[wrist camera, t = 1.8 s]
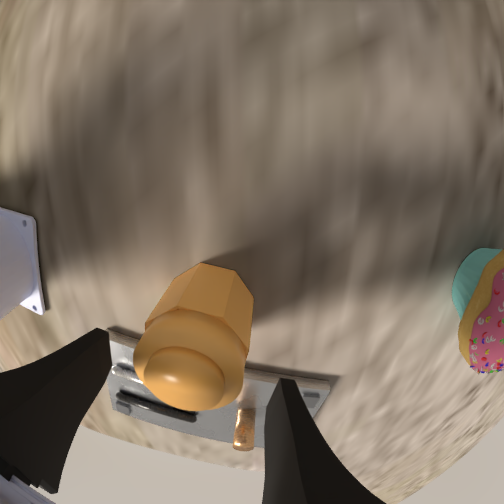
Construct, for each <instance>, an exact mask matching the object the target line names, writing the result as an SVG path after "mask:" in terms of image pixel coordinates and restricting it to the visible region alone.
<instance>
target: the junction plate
mask: <svg viewBox="0 0 504 504" xmlns="http://www.w3.org/2000/svg"><path fill="white" fill-rule="evenodd" d="M105 331H107V332H109V339H110V349H111V358H112V368H111V370H110V372H109V375H108V377H107V383H108V388H109V393H110V398H111V402H112V407H113V410H116V411H118V412H121V413H123V414H126V415H129V416H132V417H134V418H137V419H140V420H143V421H146V422H149V423H152V424H155V425H158V426H162V427H165V428H168V429H172V430H175V431H179V432H183V433H187V434H191V435H195V436H199V437H203V438H208V439H213V440H217V441H223V442H228V443H233V448H234V449H236V450H239V451H250V450H252V449H253V448H254V447H261V448H265V447H264V424H265V414H266V406H267V404H268V402H269V400H270V398H271V396H272V394H273V391H274V389H275V387H276V385H277V383H278V380H279V378H286V379H293V380H295V381H296V383H297V386H298V388H299V391H300V393H301V395H302V398H303V400H304V402H305V404H306V406H307V408H308V410H309V412H310V414H311V416H312V418H313V417H314V415H315V414H316V412H317V411H318V410H319V408H320V406H321V405H322V403H323V402H324V400H325V399H326V397H327V396H328V394H329V393H330V391H331V389H330V385H329V381H328V380H319V379H311V378H303V377H296V376H289V375H283V374H277V373H271V372H265V371H260V370H254V369H249V368H245V369H244V379H243V386H242V390H241V392H240V394H239V395H238V397H237V398H236V399H235V400H234V401H233V402H231V403H230V404H228V405H226V406H224V407H221V408H217V409H212V410H203V411H188V410H182V409H179V408H175V407H173V406H170V405H168V404H166V403H165V402H163V401H161V400H160V399H158V398H157V397H156V396H155V395H154V394H153V393H152V392H151V391H150V390H149V389H148V388H147V387H146V386H145V385H144V384H143V383H142V381H141V380H140V379H139V377H138V375H137V373H136V371H135V369H134V365H133V353H134V350H135V347H136V345H137V344H138V342H139V341H140V340H138V339H135V338H132V337H129V336H126V335H123V334H120V333H118V332H115V331H112V330H109V329H106V330H105Z"/></svg>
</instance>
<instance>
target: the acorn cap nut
mask: <svg viewBox="0 0 504 504" xmlns="http://www.w3.org/2000/svg"><path fill="white" fill-rule="evenodd" d="M253 302H254V297H253V296H252V294H251V293H250V291H249V290H248V289H247V287H246V286H245V284H244V283H243V281H242V280H241V279H240V277H239V276H238V274H237V273H236V271H234V270H229V269H225V268H221V267H217V266H213V265H209V264H204V263H199V264H198V265H196V266H194V267H193V268H191V269H189V270H188V271H186V272H184V273H183V274H181V275H179V276H178V277H176V278H174V280H173V281H172V283H171V284H170V286H169V287H168V289H167V290H166V292H165V293H164V295H163V296H162V298H161V299H160V301H159V302H158V304H157V305H156V307H155V308H154V310H153V311H152V313H151V315H150V316H149V318H148V319H147V321H146V322H145V332H144V334H143V336H142V337H141V339H140V341H139V342H138V344H137V345H136V347H135V350H134V353H133V365H134V369H135V371H136V373H137V375H138V377H139V379H140V380H141V381H142V383H143V384H144V385H145V386H146V387H147V388H148V389H149V390H150V391H151V392H152V393H153V394H154V395H155V396H156V397H157V398H158V399H160V400H161V401H163V402H165V403H166V404H168V405H170V406H173V407H175V408H179V409H182V410H188V411H203V410H212V409H217V408H221V407H224V406H226V405H228V404H230V403H231V402H233V401H234V400H235V399H236V398H237V397H238V395H239V394H240V392H241V390H242V386H243V379H244V369H245V362H246V358H247V355H248V352H249V346H250V336H251V325H252V314H253Z"/></svg>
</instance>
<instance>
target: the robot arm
mask: <svg viewBox="0 0 504 504" xmlns="http://www.w3.org/2000/svg"><path fill="white" fill-rule="evenodd" d="M26 223H27V224H26ZM19 304H20V305H22V306H24V307H26V308H28V309H30V310H32V311H34V312H35V313H37V314H39V315H43V314H44V313H45V305H44V299H43V293H42V286H41V279H40V271H39V262H38V250H37V234H36V221H35V219H34V218H33V217H32V216H28V215H25V214H21V213H18V212H15V211H11V210H8V209H5V208H1V207H0V320H1V319H2V318H4V317H5V316H6V315H7V314H8V313H9V312H11V311H12V310H13V309H14V308H15V307H17V306H18V305H19ZM111 368H112V358H111V349H110V339H109V332H107V331H104V330H102V329H99V328H95V329H94V330H92V331H90V332H88V333H87V334H85V335H83V336H82V337H80V338H78V339H77V340H75V341H73V342H71V343H70V344H68V345H66V346H64V347H63V348H61V349H59V350H57V351H55V352H53V353H51V354H49V355H47V356H45V357H43V358H41V359H39V360H37V361H35V362H33V363H30V364H27V365H25V366H22V367H19V368H16V369H13V370H9V371H5V372H2V373H0V504H56V503H54V502H52V501H51V500H49V499H48V498H46V497H44V496H43V495H41V494H40V493H38V492H37V491H35V490H33V489H32V488H31V487H29V486H30V484H32V485H33V486H35V487H36V488H38V487H41V488H42V489H44V490H45V491H47V492H49V493H50V494H54V493H57V492H58V488H59V483H60V479H61V475H62V470H63V467H64V464H65V461H66V457H67V454H68V451H69V449H70V446H71V443H72V441H73V438H74V436H75V433H76V431H77V429H78V427H79V425H80V423H81V421H82V419H83V417H84V416H85V414H86V412H87V411H88V409H89V408H90V406H91V404H92V403H93V401H94V400H95V398H96V396H97V395H98V393H99V391H100V390H101V388H102V387H103V385H104V383H105V381H106V379H107V377H108V375H109V372H110V370H111ZM264 447H265V482H264V492H263V500H262V504H386V503H385V502H383V501H382V500H380V499H379V498H378V497H376V496H375V495H373V494H372V493H371V492H370V491H369V490H367V489H366V488H365V487H364V486H363V485H362V484H361V483H360V482H359V481H358V480H357V479H356V478H355V477H354V476H353V475H352V474H351V473H350V472H349V471H348V470H347V469H346V468H345V467H344V465H343V464H342V463H341V462H340V460H339V459H338V458H337V457H336V455H335V454H334V453H333V451H332V450H331V448H330V447H329V445H328V444H327V442H326V441H325V439H324V438H323V436H322V434H321V433H320V431H319V429H318V428H317V426H316V424H315V422H314V420H313V418H312V416H311V414H310V412H309V410H308V408H307V406H306V404H305V402H304V400H303V398H302V395H301V393H300V391H299V388H298V386H297V383H296V381H295V380H293V379H286V378H279V380H278V383H277V385H276V387H275V389H274V391H273V394H272V396H271V398H270V400H269V402H268V404H267V406H266V414H265V424H264Z"/></svg>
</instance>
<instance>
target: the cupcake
mask: <svg viewBox="0 0 504 504" xmlns="http://www.w3.org/2000/svg"><path fill="white" fill-rule="evenodd" d="M452 299H453V302H454V305H455V307H456V309H457V311H458V314H459V317H460V320H461V322H460V325H459V330H458V338H459V349H460V352H461V354H462V355H463V357H464V358H465V360H466V361H467V363H468V364H469V365H470V367H472V368H473V370H475V371H476V372H477V374H479V373H480V372H481V373H485V372H486V373H488V374H489V373H492V372H493V371H495V372H499V371H502V370H504V249H490V248H480V249H477V250H475V251H473V252H472V253H471V254H469V255H468V256H467V257H466V259H465V260H464V261H463V262H462V264H461V265H460V267H459V269H458V271H457V273H456V275H455V278H454V282H453V286H452Z"/></svg>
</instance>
